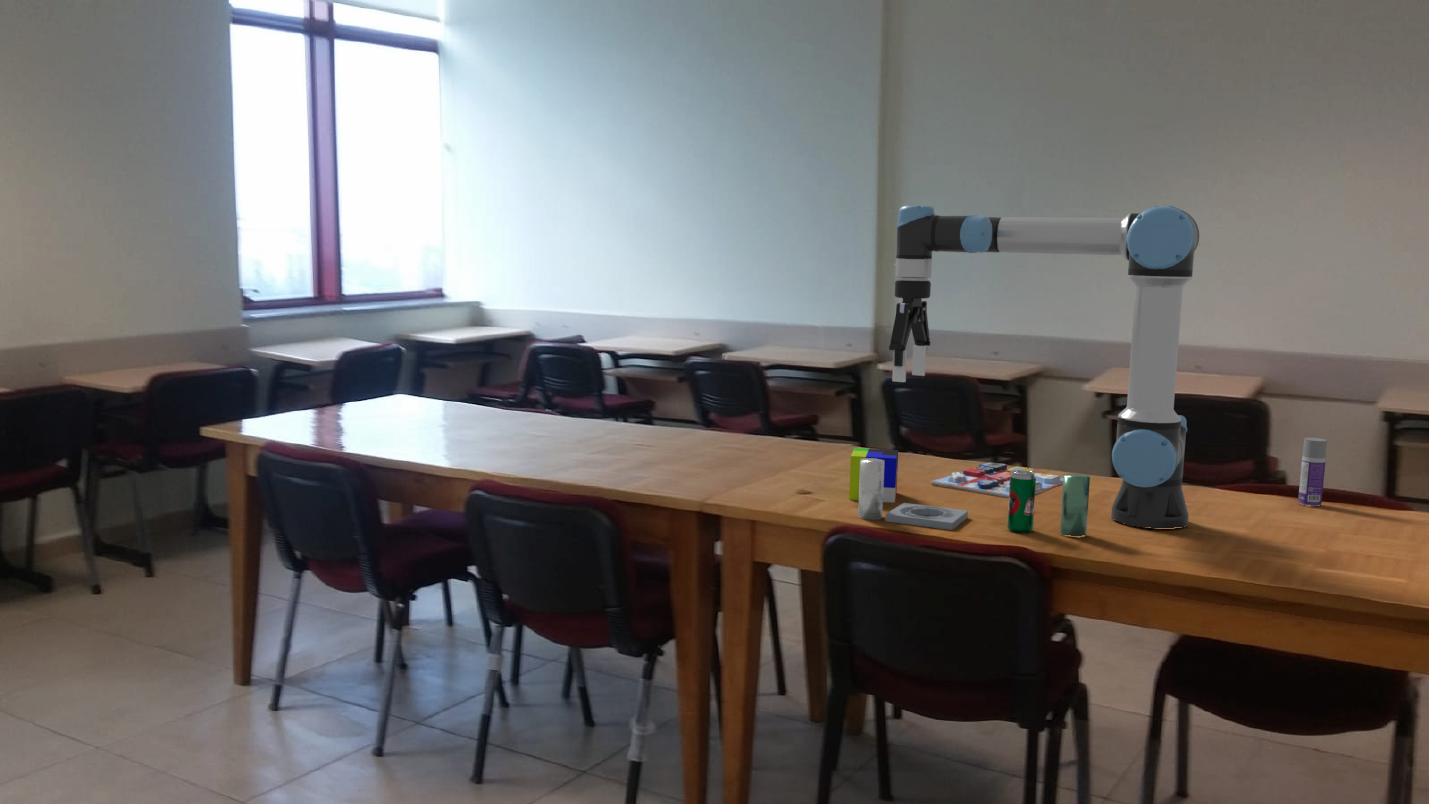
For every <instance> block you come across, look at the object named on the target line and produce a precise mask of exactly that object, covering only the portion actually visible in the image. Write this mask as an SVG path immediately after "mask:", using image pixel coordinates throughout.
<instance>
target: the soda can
mask: <svg viewBox="0 0 1429 804" xmlns="http://www.w3.org/2000/svg"><path fill="white" fill-rule="evenodd" d="M1034 472H1035V471H1034ZM1034 472H1032V471H1026V470H1015V471H1012V475H1011V476H1010V487H1009V498H1008V507H1007V508H1008V509H1007V529H1008V530H1009V531H1010V532H1013V533H1017V534H1018V533H1019V534H1029V533H1031V532H1032V531H1033V529H1034V522H1035V505H1036V495H1035V490H1036V477H1035V475H1034V474H1035V473H1034Z"/></svg>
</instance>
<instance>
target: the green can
mask: <svg viewBox="0 0 1429 804" xmlns="http://www.w3.org/2000/svg"><path fill="white" fill-rule="evenodd" d="M1062 477H1063V484H1062V493H1061V510H1060V512H1061V513H1060V527H1059V534H1060V533H1061V534H1062V535H1071V536H1082V535H1086V536H1087V527H1088V526H1087V525H1088V514H1089V511H1088V510H1089V499H1090V498H1089V497H1090V484H1091V482H1090V481H1091V476H1090V475H1088V474H1084V473H1075V472H1073V473H1071V472H1069V473H1068V472H1067V473H1064V474H1063V475H1062ZM1062 535H1061V536H1062Z"/></svg>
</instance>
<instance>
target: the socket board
mask: <svg viewBox="0 0 1429 804" xmlns="http://www.w3.org/2000/svg"><path fill="white" fill-rule="evenodd" d="M968 514H969V510H965V509H956V508H951V507H950V508H948V507H942V506H941V507H940V506H932V505H925V504H916V503H910V502H908V503H907V502H903V503H901V504H900V505H898V506H896V507H895V508H893V509H891V510H890V511H888V512H887V513H885V520H884V521H885V522H888V523H895V524H904V525H909V526H918V527H926V528H931V529H939V530H947V531H953V530H954V529H956V528H957V527H958V526H959V525H960V524H962V523H963V522H965V520H967V519H968V518H969V515H968Z"/></svg>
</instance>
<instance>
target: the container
mask: <svg viewBox="0 0 1429 804" xmlns="http://www.w3.org/2000/svg"><path fill="white" fill-rule="evenodd" d="M1327 443H1328V441H1327V439H1325V438H1319V437H1304V440H1303V449H1302V450H1303V451H1302V455H1301V456H1302V457H1301V458H1302V459H1301V466H1300V478H1299V480H1300V481H1299V489H1298V498H1297V499H1298V501H1297V503H1298V502H1299V503H1302V504H1304V505H1311V506H1318V505H1321V506H1322V502H1323V500H1322V499H1323V491H1324V480H1325V472H1326V471H1325V470H1326V460H1327V459H1326V458H1327Z"/></svg>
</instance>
